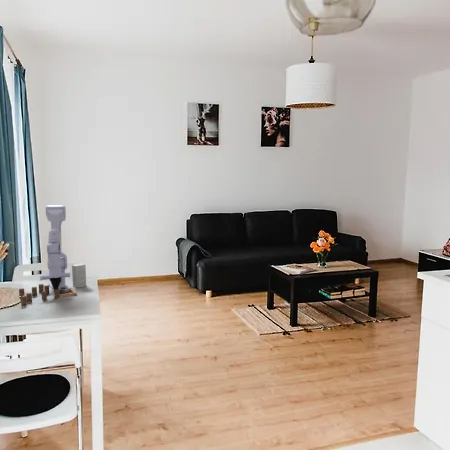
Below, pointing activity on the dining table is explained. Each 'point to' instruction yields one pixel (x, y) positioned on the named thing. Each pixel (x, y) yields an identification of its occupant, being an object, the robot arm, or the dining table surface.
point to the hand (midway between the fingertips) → (55, 292)
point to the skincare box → (79, 275)
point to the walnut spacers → (42, 289)
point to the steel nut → (63, 290)
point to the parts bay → (69, 293)
